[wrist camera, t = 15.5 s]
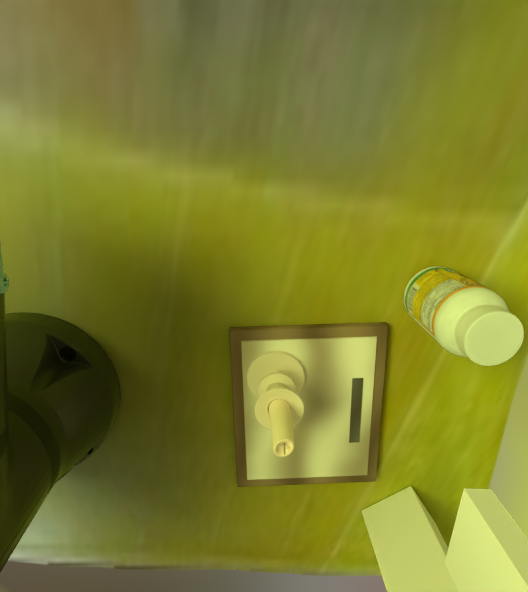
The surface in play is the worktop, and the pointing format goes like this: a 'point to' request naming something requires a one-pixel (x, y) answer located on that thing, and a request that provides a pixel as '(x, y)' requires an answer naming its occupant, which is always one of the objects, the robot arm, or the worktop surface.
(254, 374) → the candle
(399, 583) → the milk
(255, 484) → the writing board
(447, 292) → the supplement bottle
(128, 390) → the worktop surface
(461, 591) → the robot arm
